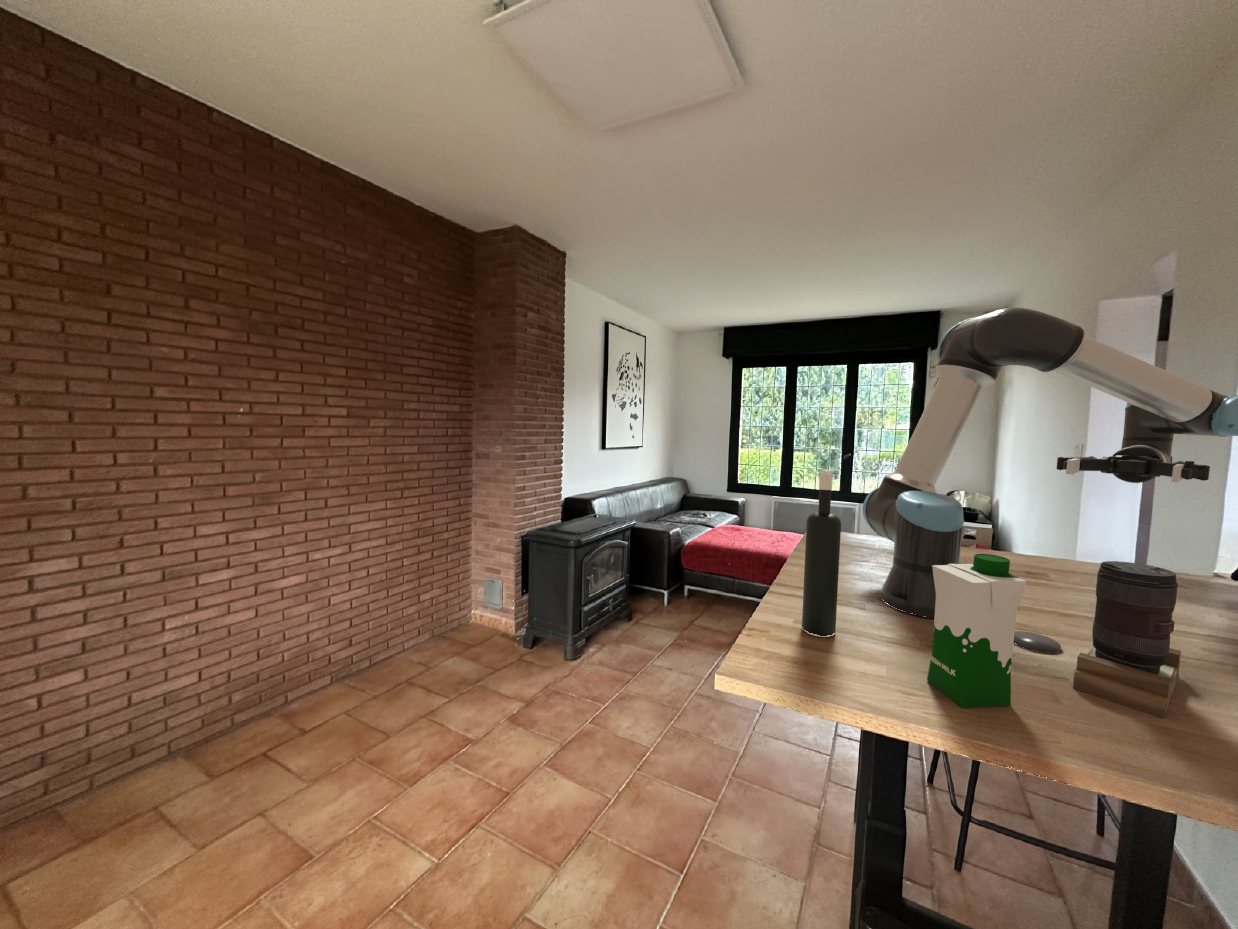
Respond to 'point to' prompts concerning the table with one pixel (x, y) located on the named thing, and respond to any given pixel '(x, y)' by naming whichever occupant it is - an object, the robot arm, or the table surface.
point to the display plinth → (1128, 682)
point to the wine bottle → (821, 564)
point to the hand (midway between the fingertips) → (1119, 470)
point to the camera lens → (1134, 614)
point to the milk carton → (975, 630)
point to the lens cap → (1036, 642)
